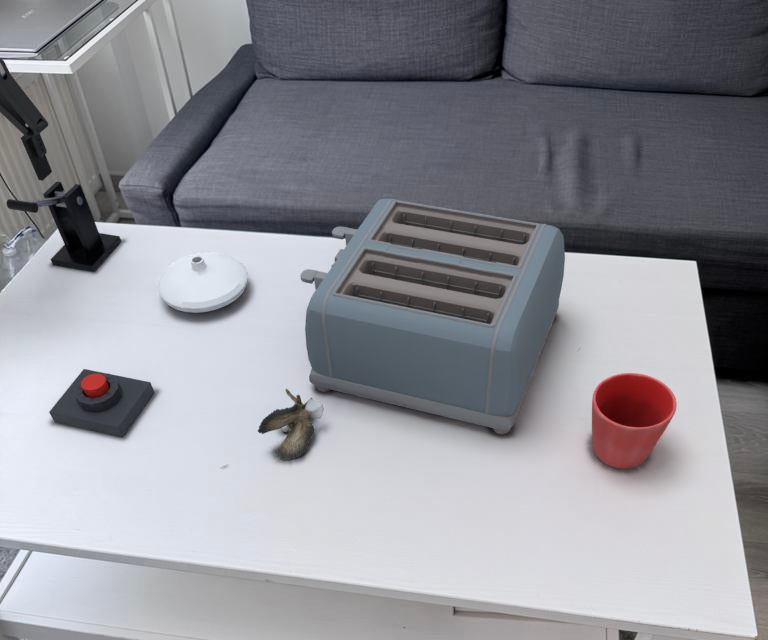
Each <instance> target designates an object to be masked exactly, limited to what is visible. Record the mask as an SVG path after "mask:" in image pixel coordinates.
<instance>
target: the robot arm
mask: <svg viewBox="0 0 768 640" xmlns="http://www.w3.org/2000/svg"><path fill="white" fill-rule="evenodd" d="M0 114H1V115H2V116H3V117H5V119H7V120H8V121H9V122H10V123H11V124H12V125H13V126H14V127H15V128H16V129H17V130H18V131H19V132H20V133H21V134H22V136H21V137H20V140H21V142H22V144H23V147H24V150H25V152H26V154H27V156H28V158H29V160H30V161H29V162H30V163H31V166H32V168H33V170H34V172H35V175H36V177H37V180H38V181H41V182H43V181H44V180H45V179H47V177H48V176H49V175H51V174H52V173H53V170H52V168H51V165H50V163H49V160H48V158H47V153H48V151H47V148H46V145H45V143H44V140H43V138H42V135H41V133H42V132H43V131H44V130H46V129H47V128H48V127H49V121H48V120H47V119H46V118H45V116H44V115H43V114H42V113H41V111H40V110H39V109H38V108H37V106H36V105H35V104H34V103H33V101H32V99H30V97H29V96H28V95H27V94H26V92H25V91H24V89H23V88H22V87H21V86H20V85H19V83H18V81H16V79H15V78H14V77H13V76H12V74H11V72H10V70H9V68H8V66H7V64H6V62H5V61H4V59H3V58H2V57H0Z"/></svg>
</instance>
